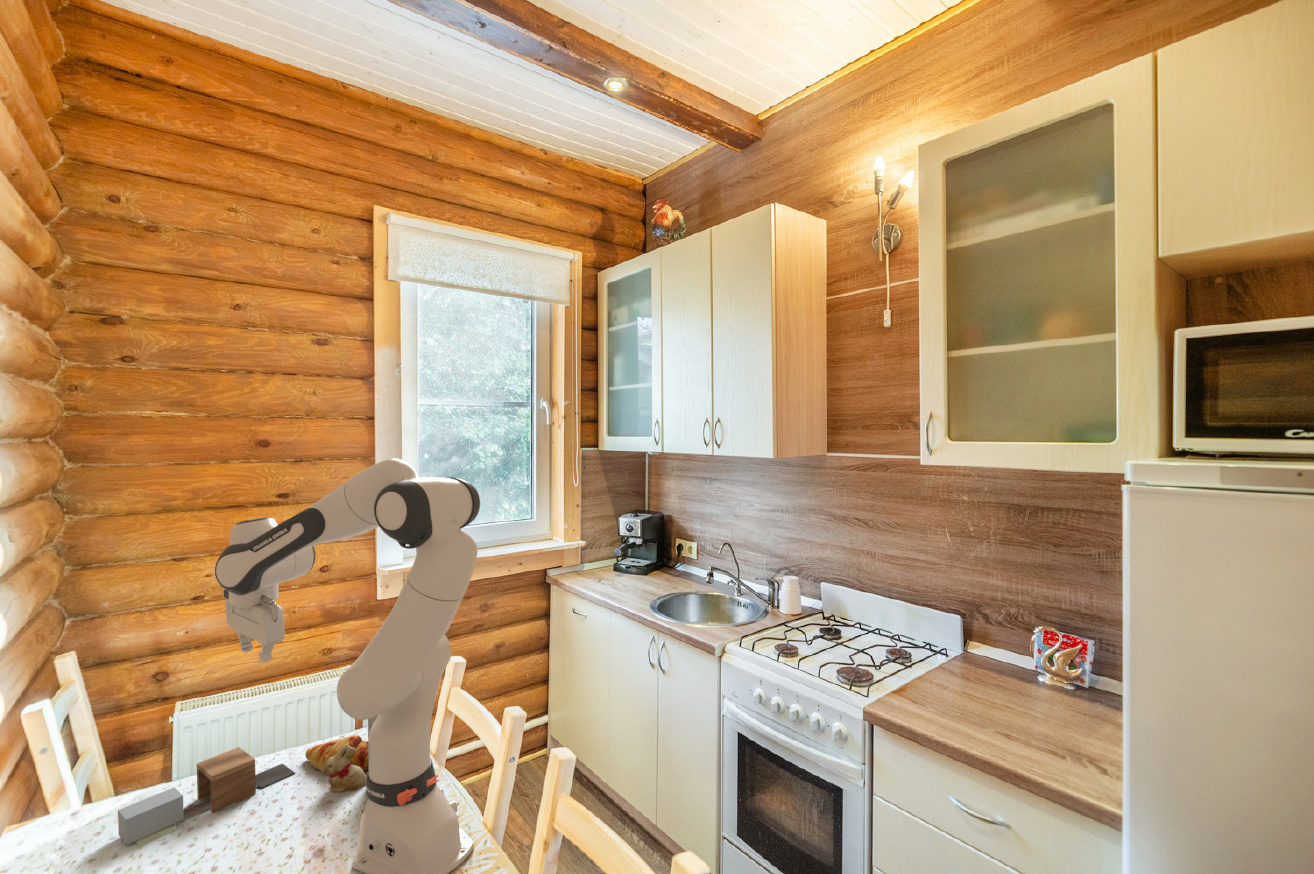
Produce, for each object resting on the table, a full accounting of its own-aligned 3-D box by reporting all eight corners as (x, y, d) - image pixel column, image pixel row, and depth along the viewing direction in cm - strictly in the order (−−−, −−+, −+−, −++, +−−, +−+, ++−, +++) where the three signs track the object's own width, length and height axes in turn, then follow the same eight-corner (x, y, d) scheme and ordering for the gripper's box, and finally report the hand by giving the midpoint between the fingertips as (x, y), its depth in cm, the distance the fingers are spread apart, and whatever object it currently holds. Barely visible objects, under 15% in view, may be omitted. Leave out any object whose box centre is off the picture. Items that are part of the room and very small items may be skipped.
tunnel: (296, 775, 139) (296, 741, 139) (139, 846, 115) (138, 806, 115) (280, 763, 144) (279, 731, 143) (125, 829, 120) (124, 791, 120)
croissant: (298, 780, 143) (284, 760, 139) (323, 741, 151) (311, 721, 147) (378, 787, 139) (367, 766, 135) (400, 747, 148) (390, 726, 144)
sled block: (183, 819, 123) (183, 795, 123) (126, 845, 115) (125, 819, 115) (174, 810, 125) (174, 787, 125) (118, 834, 118) (117, 809, 118)
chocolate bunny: (338, 778, 138) (337, 735, 137) (370, 779, 137) (370, 736, 137) (322, 792, 132) (321, 748, 132) (356, 794, 132) (355, 749, 131)
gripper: (292, 596, 126) (293, 661, 127) (251, 582, 138) (252, 641, 138) (259, 604, 121) (260, 672, 121) (219, 588, 133) (220, 650, 133)
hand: (255, 655), depth 130 cm, fingers open, 8 cm apart
